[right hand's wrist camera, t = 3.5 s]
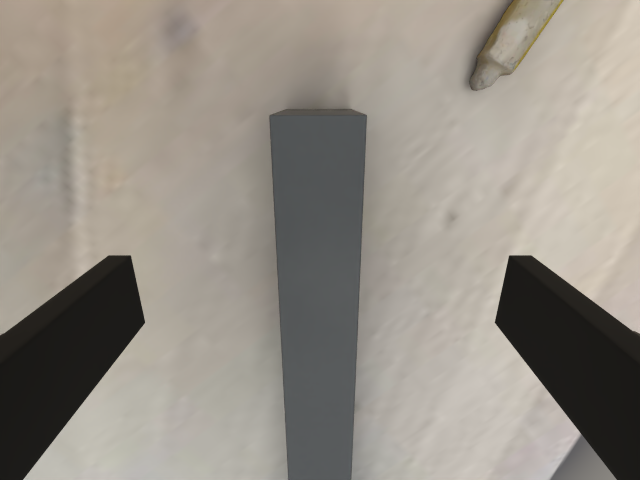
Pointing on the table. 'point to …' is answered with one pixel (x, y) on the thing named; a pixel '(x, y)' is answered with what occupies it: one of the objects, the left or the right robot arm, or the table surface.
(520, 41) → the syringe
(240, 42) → the table surface
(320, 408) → the bar
